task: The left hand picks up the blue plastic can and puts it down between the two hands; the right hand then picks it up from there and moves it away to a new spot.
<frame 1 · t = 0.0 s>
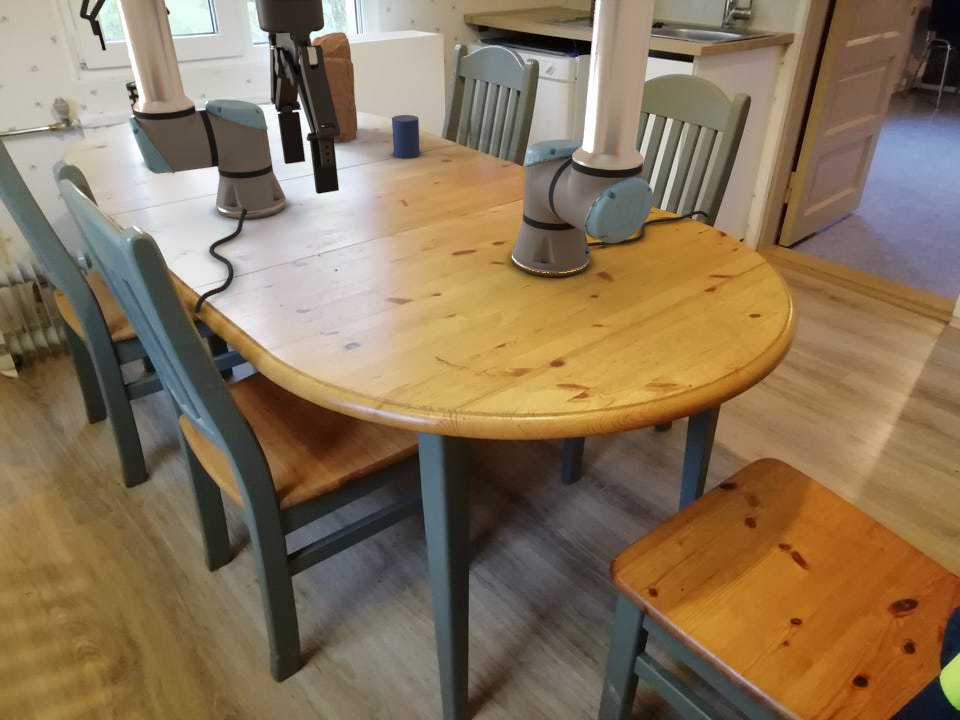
left hand: (133, 48, 174), 28 cm above the table, tool pointing down, fingers open, 13 cm apart
right hand: (310, 176, 90), 28 cm above the table, tool pointing down, fingers open, 13 cm apart
can: (406, 154, 195), on the table
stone: (337, 135, 211), on the table
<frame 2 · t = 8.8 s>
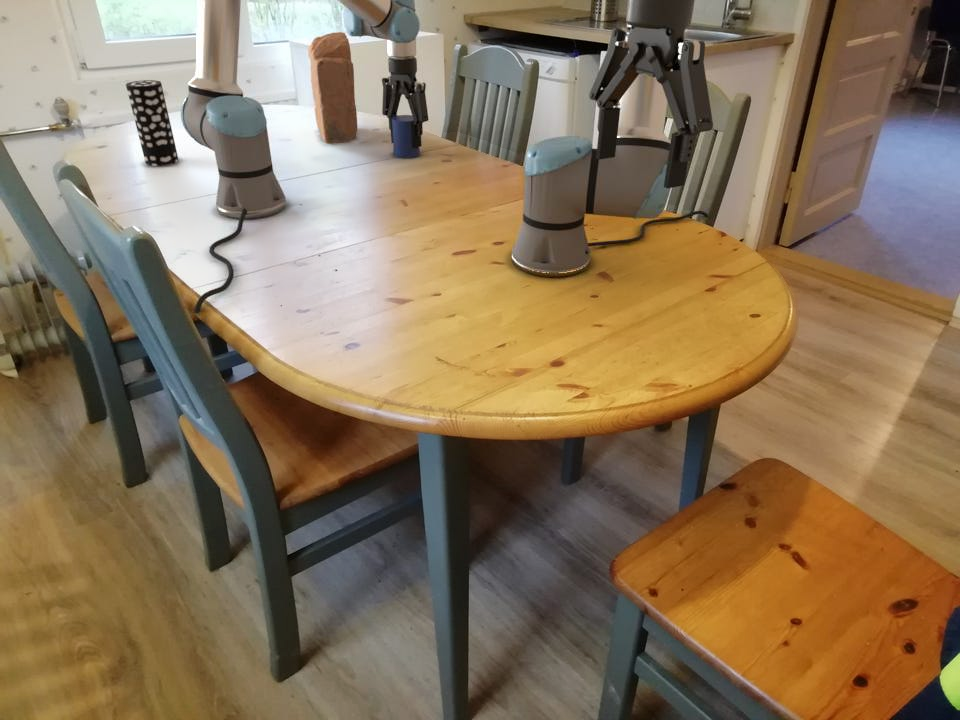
left hand: (406, 144, 194), 3 cm above the table, tool pointing down, fingers closed on can, 7 cm apart
right hand: (637, 171, 90), 29 cm above the table, tool pointing down, fingers open, 13 cm apart
can: (406, 154, 195), on the table, touching left hand
everything else where it was.
when the left hand's fingers open (5 cm above the table, at t = 29.5 s): can drops 2 cm, on the table.
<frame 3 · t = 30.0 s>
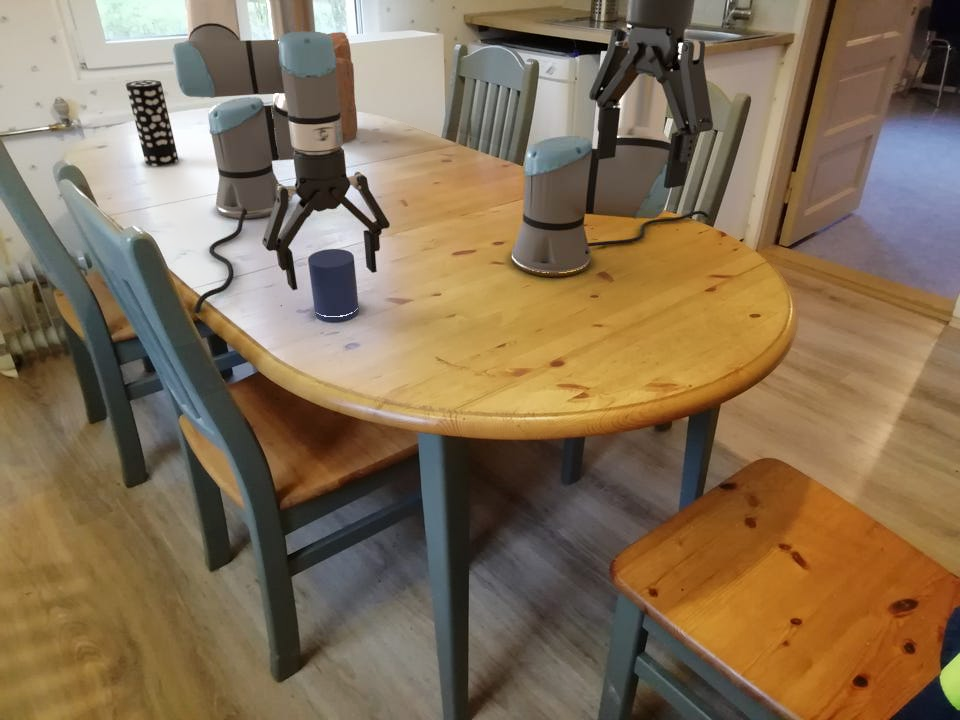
left hand: (333, 278, 114), 6 cm above the table, tool pointing down, fingers open, 13 cm apart
right hand: (637, 171, 90), 29 cm above the table, tool pointing down, fingers open, 13 cm apart
can: (337, 312, 117), on the table
everything else where it was.
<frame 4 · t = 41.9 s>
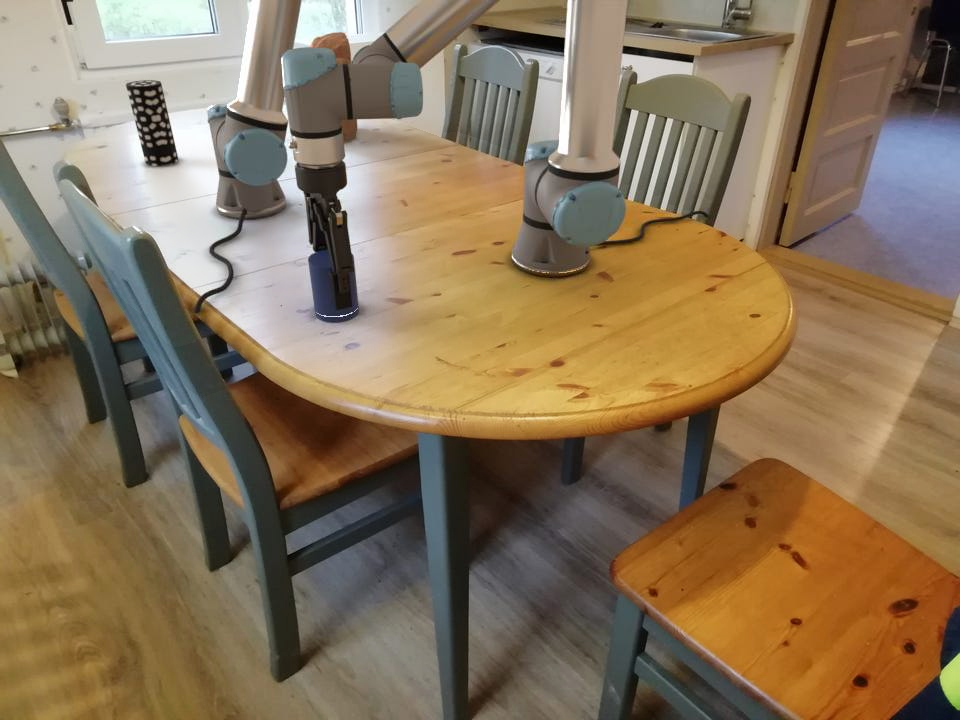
left hand: (24, 26, 114), 41 cm above the table, tool pointing down, fingers open, 13 cm apart
right hand: (335, 297, 115), 3 cm above the table, tool pointing down, fingers closed on can, 7 cm apart
can: (337, 312, 117), on the table, touching right hand
everything else where it was.
when the right hand's fingers open (5 cm above the table, at t = 53.2 s): can drops 2 cm, on the table.
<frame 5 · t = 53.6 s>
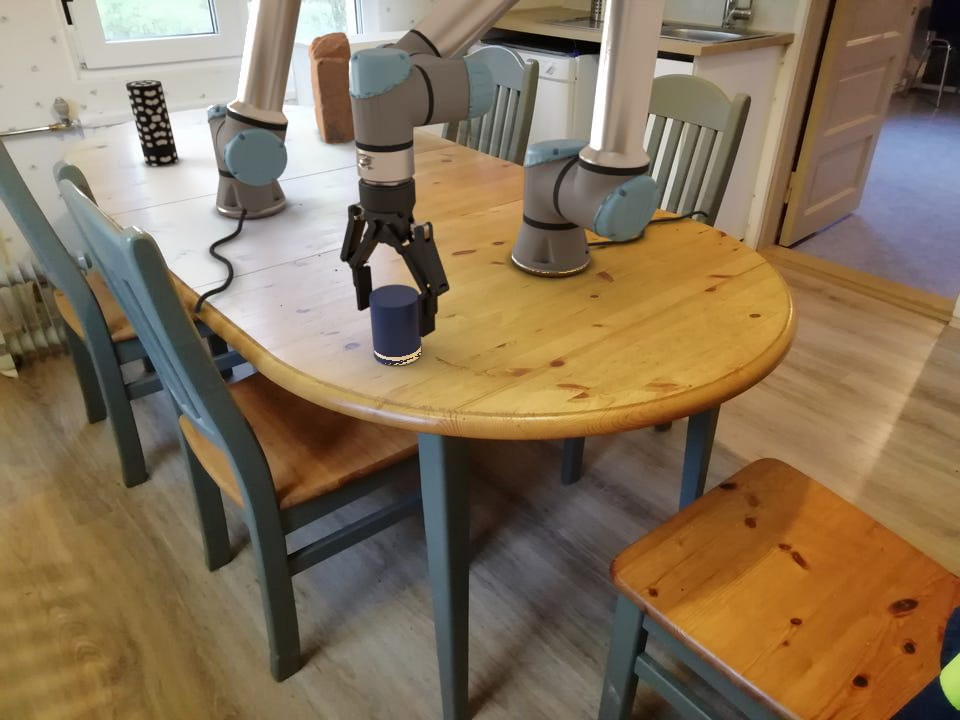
left hand: (24, 26, 114), 41 cm above the table, tool pointing down, fingers open, 13 cm apart
right hand: (395, 320, 103), 6 cm above the table, tool pointing down, fingers open, 12 cm apart
can: (397, 353, 106), on the table
everything else where it was.
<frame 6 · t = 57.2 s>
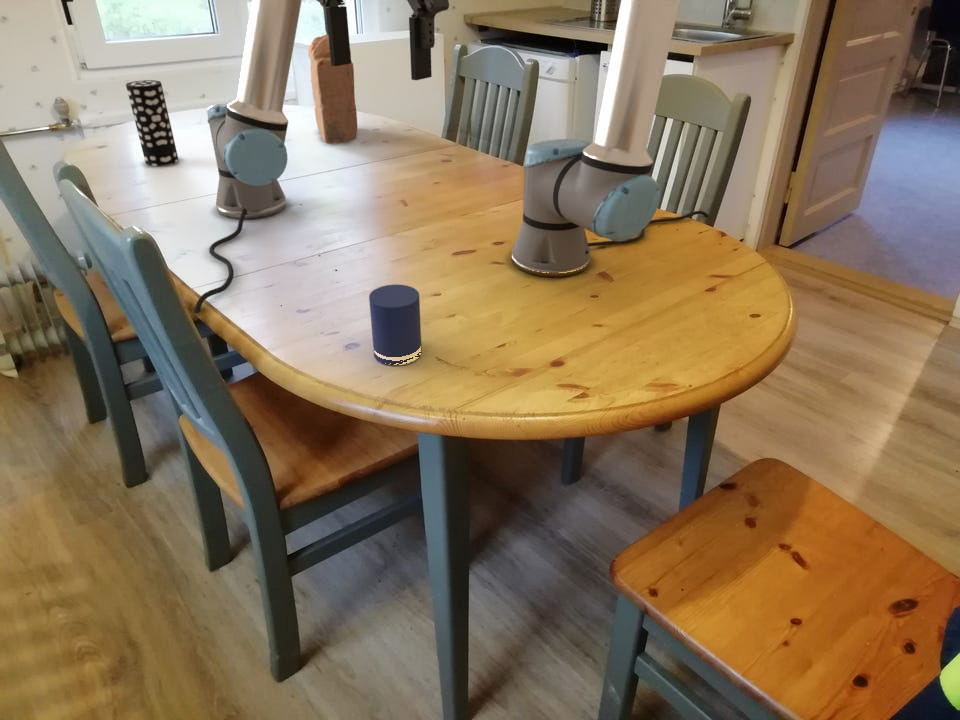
left hand: (24, 26, 114), 41 cm above the table, tool pointing down, fingers open, 13 cm apart
right hand: (379, 71, 84), 41 cm above the table, tool pointing down, fingers open, 13 cm apart
nothing on the table moved.
at the end: can inside the target area (0.0 cm from its centre), on the table; can tilted 0°; the two hands never held the can at the same time; the left hand is holding nothing; the right hand is holding nothing; can at rest at the end (0.0 cm/s) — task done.
